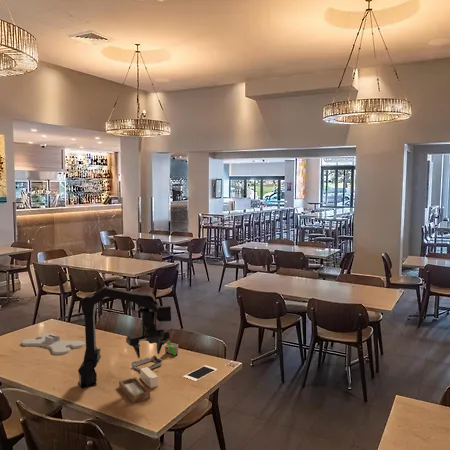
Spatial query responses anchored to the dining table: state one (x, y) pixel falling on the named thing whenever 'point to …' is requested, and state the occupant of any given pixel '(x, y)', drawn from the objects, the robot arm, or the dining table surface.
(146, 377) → the white rectangular block
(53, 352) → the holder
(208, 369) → the cell phone
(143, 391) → the cradle
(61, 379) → the dining table surface
